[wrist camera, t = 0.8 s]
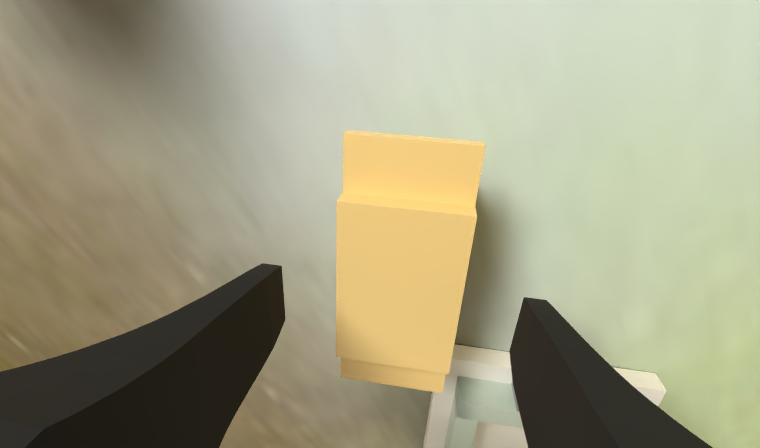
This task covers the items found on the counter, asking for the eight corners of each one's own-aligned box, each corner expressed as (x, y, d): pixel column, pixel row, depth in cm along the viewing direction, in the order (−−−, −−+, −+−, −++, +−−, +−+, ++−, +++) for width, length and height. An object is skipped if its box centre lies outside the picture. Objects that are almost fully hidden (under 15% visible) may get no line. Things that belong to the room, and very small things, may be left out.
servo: (442, 321, 18) (442, 410, 14) (361, 310, 19) (336, 392, 14) (474, 119, 14) (488, 152, 10) (369, 110, 15) (337, 139, 10)
